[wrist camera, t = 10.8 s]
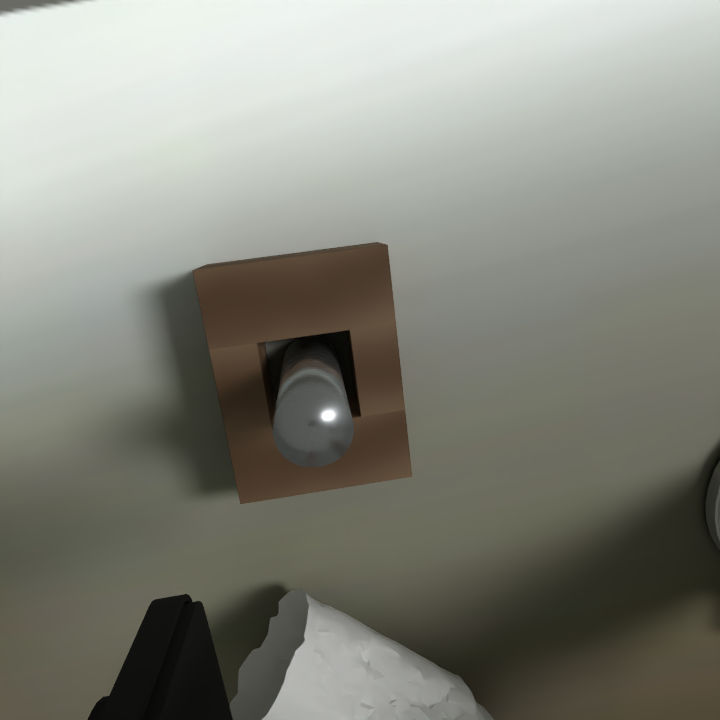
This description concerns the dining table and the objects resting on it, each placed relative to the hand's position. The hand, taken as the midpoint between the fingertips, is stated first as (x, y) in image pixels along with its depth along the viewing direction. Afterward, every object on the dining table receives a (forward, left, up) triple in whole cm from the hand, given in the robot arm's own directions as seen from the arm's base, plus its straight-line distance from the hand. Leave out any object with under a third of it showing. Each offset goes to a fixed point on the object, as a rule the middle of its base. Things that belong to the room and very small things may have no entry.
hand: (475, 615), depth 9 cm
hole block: (-1, +3, -21) cm, 21 cm away
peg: (0, +3, -21) cm, 21 cm away
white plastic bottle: (-21, +1, -21) cm, 30 cm away
